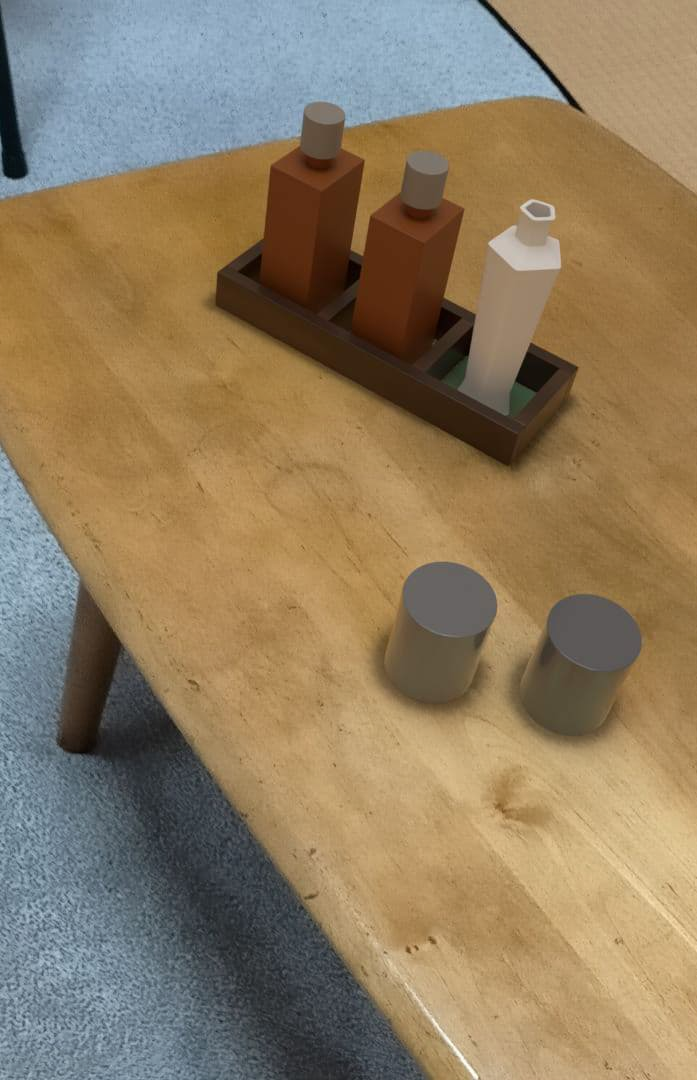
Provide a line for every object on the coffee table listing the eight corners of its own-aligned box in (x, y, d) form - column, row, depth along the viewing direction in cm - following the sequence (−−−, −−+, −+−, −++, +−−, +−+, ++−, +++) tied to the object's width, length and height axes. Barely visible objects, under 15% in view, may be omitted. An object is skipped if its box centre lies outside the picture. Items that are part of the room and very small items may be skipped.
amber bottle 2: (432, 348, 87) (476, 159, 75) (394, 384, 84) (435, 192, 72) (384, 323, 88) (421, 133, 77) (345, 357, 85) (378, 165, 74)
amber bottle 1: (342, 301, 89) (373, 110, 78) (302, 334, 86) (328, 140, 75) (297, 277, 90) (321, 85, 79) (256, 309, 87) (275, 114, 76)
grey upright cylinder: (486, 670, 70) (514, 593, 65) (441, 729, 67) (467, 653, 62) (411, 624, 71) (433, 546, 66) (364, 681, 68) (383, 603, 63)
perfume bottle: (441, 409, 82) (490, 218, 71) (461, 370, 85) (511, 181, 74) (506, 432, 82) (565, 243, 70) (524, 393, 84) (584, 205, 73)
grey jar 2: (618, 700, 70) (657, 626, 64) (579, 761, 67) (617, 688, 61) (541, 654, 71) (573, 578, 66) (499, 712, 68) (530, 636, 63)
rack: (285, 261, 92) (290, 218, 89) (564, 408, 85) (579, 367, 83) (214, 315, 87) (216, 271, 84) (505, 476, 80) (518, 434, 77)
